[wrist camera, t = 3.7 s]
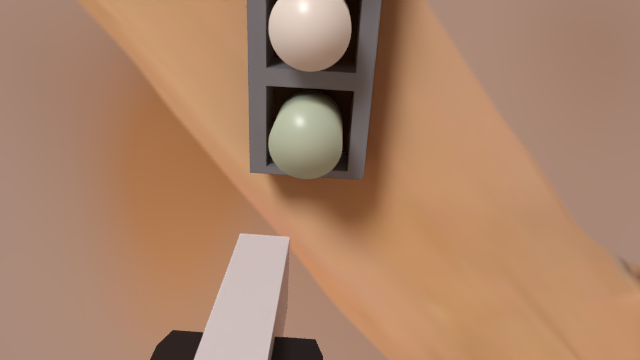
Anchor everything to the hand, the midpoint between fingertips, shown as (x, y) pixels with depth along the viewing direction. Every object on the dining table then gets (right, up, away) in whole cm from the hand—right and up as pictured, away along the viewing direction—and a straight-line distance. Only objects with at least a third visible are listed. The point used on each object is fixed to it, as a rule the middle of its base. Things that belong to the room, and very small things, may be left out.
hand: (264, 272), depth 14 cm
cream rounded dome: (+1, +12, +11) cm, 16 cm away
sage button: (+1, +6, +14) cm, 16 cm away
